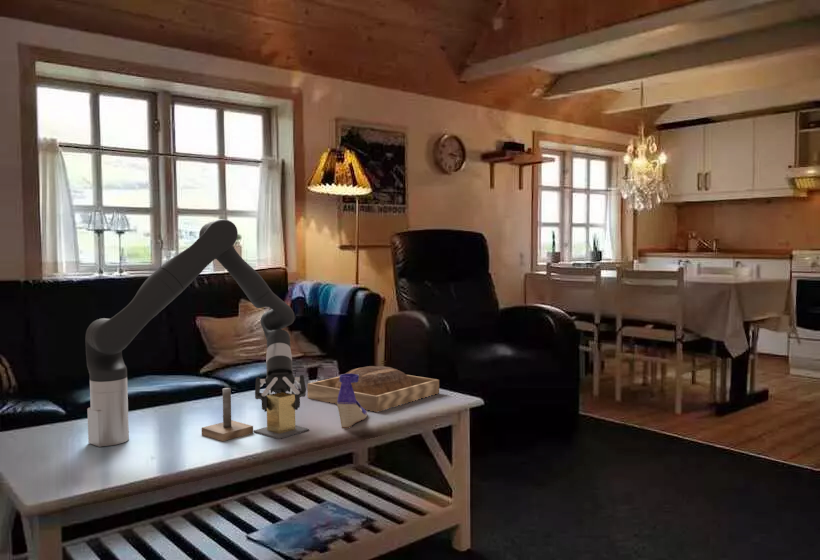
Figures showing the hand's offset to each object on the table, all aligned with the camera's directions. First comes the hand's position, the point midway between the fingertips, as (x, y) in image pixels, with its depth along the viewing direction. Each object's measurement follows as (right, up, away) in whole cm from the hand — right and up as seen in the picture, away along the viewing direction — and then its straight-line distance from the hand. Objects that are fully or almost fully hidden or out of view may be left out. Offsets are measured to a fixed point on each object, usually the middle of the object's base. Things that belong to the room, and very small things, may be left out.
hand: (281, 409), depth 188 cm
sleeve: (0, -6, +2) cm, 6 cm away
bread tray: (+24, -4, +45) cm, 51 cm away
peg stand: (-15, -7, -1) cm, 16 cm away
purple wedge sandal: (+18, -6, +13) cm, 24 cm away
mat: (0, -7, +2) cm, 7 cm away
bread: (+23, -4, +48) cm, 54 cm away
